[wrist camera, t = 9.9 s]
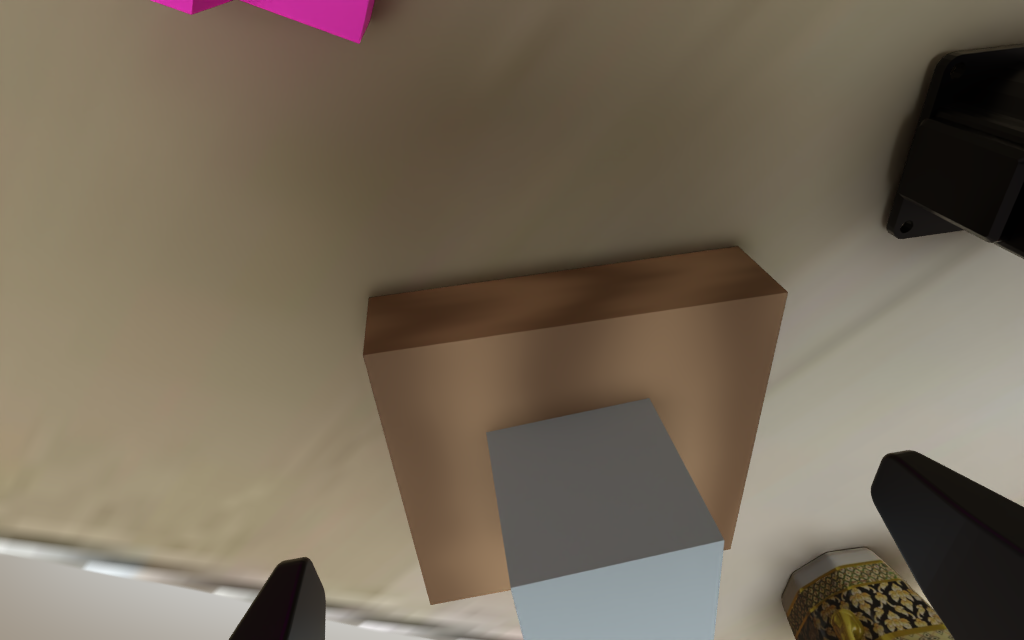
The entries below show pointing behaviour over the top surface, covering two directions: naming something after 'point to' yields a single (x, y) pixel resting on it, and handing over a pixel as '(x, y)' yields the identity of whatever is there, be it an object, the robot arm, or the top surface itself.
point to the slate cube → (605, 529)
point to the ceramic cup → (857, 601)
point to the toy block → (302, 13)
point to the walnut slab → (565, 385)
